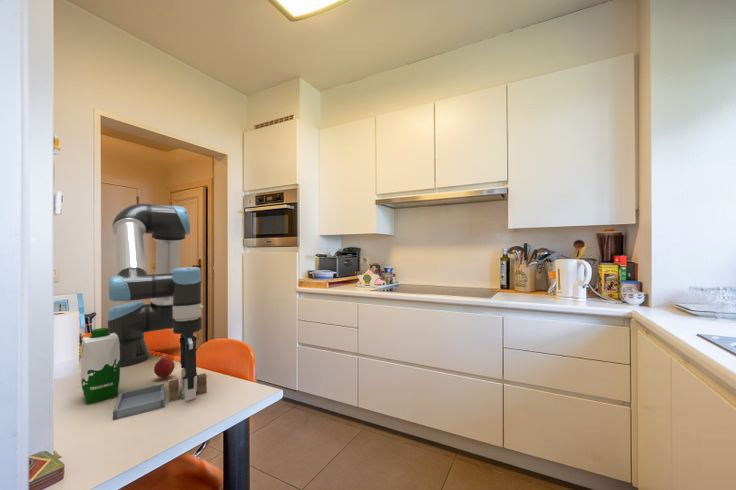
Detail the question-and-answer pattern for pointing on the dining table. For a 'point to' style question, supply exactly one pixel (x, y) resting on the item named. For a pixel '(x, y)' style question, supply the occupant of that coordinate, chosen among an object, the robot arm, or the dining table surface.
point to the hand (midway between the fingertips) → (188, 394)
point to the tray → (139, 401)
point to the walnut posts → (175, 387)
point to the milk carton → (100, 365)
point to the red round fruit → (164, 367)
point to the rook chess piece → (182, 392)
